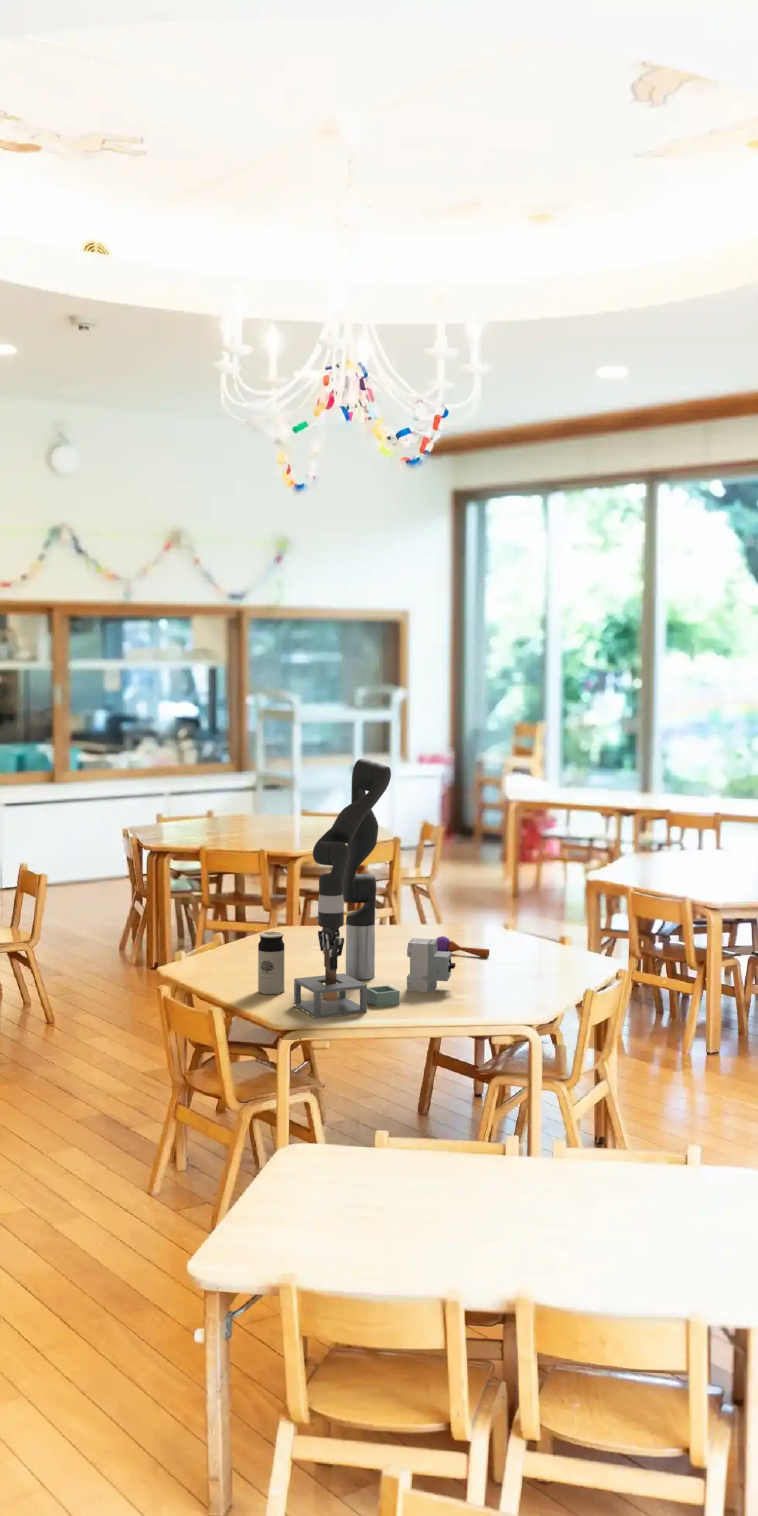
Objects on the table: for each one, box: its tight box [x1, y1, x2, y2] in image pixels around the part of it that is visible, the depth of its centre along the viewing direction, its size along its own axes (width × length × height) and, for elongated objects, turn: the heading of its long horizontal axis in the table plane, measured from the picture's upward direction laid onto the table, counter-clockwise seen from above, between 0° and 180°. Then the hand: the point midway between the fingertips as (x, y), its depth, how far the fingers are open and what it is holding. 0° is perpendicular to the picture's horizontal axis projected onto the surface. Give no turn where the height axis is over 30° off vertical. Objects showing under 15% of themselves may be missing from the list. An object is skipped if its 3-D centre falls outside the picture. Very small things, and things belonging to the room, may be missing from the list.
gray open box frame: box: [293, 972, 368, 1019], centre depth 396 cm, size 16×16×8 cm
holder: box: [367, 984, 401, 1008], centre depth 404 cm, size 8×8×4 cm
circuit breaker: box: [406, 937, 456, 993], centre depth 420 cm, size 8×14×15 cm, turn 78°
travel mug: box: [257, 930, 285, 995], centre depth 416 cm, size 8×8×18 cm
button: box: [322, 992, 339, 1001], centre depth 396 cm, size 4×4×3 cm
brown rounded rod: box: [324, 941, 337, 985], centre depth 396 cm, size 3×3×14 cm
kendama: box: [436, 935, 490, 959], centre depth 470 cm, size 6×6×20 cm
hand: (330, 968), depth 396 cm, fingers closed on brown rounded rod, 3 cm apart
